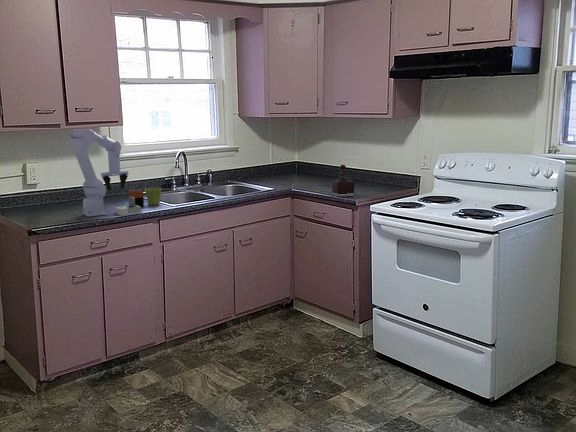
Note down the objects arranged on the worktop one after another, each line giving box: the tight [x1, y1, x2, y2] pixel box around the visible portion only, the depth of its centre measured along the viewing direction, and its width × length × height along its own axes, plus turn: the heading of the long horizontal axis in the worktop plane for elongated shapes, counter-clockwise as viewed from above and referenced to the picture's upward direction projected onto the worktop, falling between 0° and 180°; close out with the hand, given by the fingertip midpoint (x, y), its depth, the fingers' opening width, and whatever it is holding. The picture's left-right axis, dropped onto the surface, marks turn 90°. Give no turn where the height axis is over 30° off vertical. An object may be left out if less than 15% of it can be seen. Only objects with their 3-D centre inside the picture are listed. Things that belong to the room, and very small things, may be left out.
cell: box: [127, 197, 135, 208], centre depth 301 cm, size 3×3×8 cm
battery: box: [128, 188, 145, 209], centre depth 315 cm, size 4×7×10 cm, turn 119°
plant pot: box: [143, 187, 163, 206], centre depth 324 cm, size 9×9×9 cm
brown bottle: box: [331, 164, 355, 194], centre depth 355 cm, size 16×11×18 cm
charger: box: [114, 205, 143, 216], centre depth 301 cm, size 11×8×3 cm
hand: (115, 189), depth 310 cm, fingers open, 7 cm apart
